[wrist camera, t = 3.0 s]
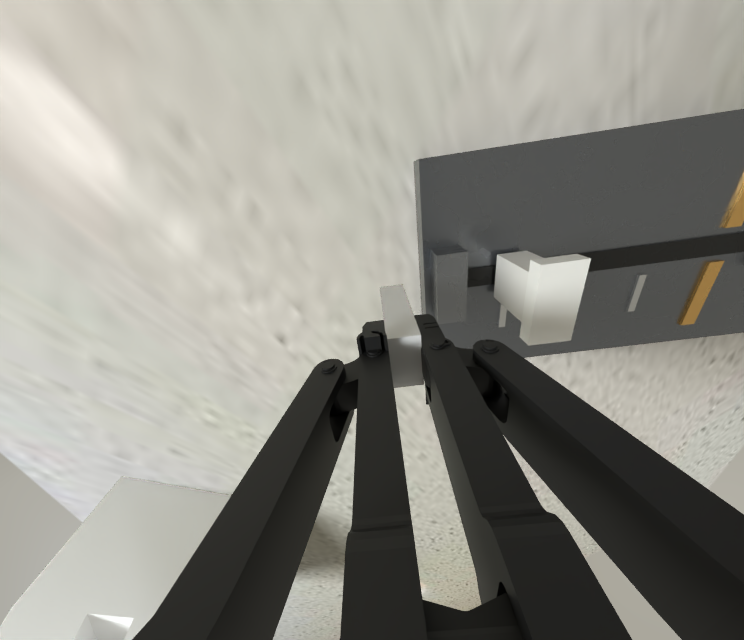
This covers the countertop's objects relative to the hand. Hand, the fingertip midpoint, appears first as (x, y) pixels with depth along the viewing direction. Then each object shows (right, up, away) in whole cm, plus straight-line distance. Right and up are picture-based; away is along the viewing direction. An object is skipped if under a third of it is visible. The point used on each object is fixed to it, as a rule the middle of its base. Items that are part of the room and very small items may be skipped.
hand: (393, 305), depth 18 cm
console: (+16, +4, +3) cm, 17 cm away
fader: (+8, +2, +1) cm, 9 cm away
